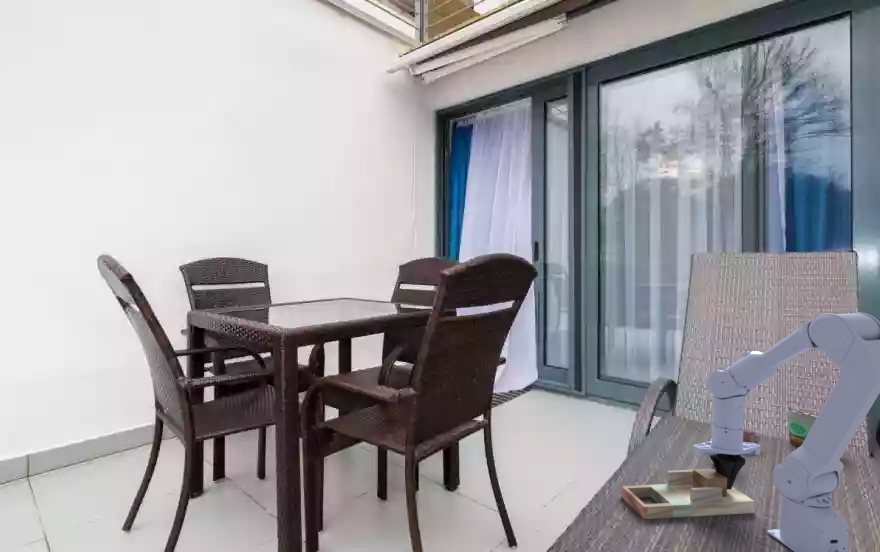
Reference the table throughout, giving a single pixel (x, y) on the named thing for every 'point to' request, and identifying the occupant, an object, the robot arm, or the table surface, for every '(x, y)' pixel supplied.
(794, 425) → the food container
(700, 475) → the walnut block
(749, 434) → the video game controller
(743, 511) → the board
